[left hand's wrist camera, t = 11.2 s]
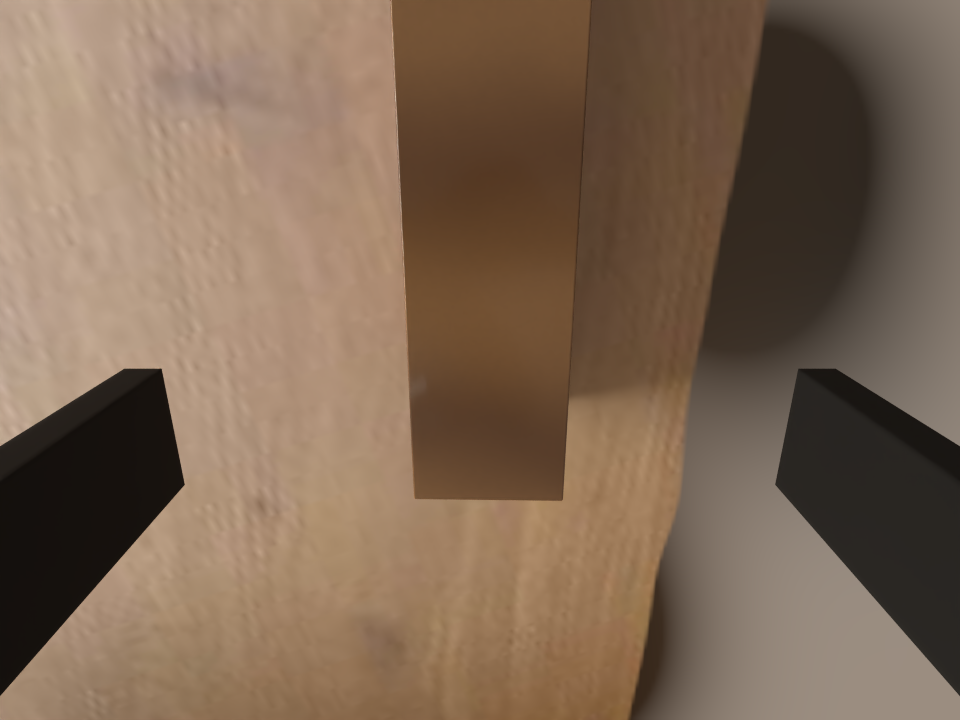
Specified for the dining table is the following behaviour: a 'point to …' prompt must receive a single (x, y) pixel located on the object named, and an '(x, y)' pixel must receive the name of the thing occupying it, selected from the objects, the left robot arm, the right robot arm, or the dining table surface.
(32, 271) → the dining table surface
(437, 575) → the dining table surface
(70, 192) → the dining table surface
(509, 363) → the beam
